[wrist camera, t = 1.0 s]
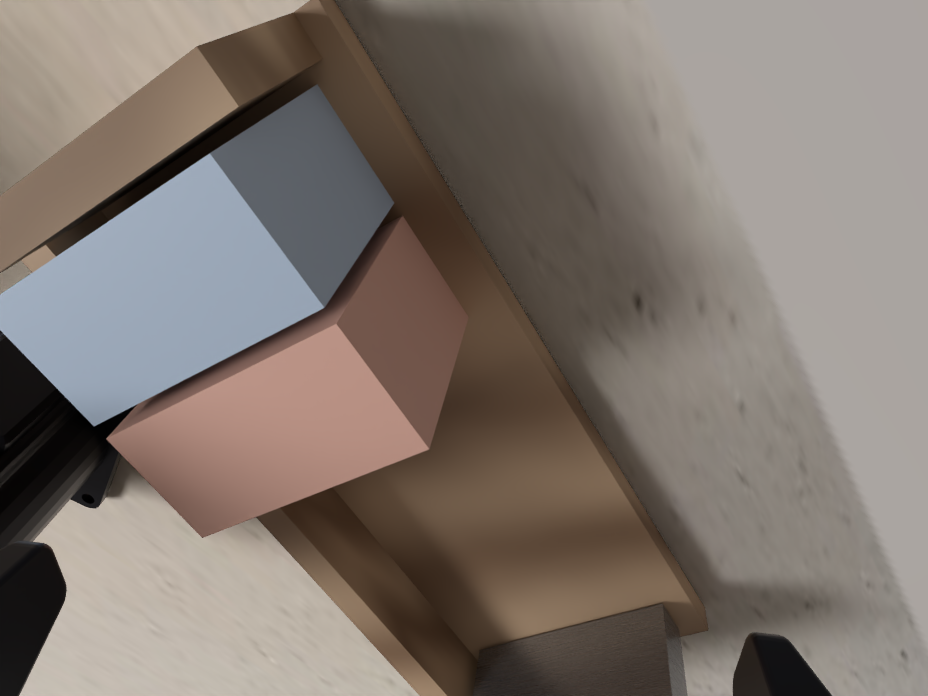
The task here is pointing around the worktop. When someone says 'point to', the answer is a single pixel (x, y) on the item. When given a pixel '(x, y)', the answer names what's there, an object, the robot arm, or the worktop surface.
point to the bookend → (590, 660)
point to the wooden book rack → (466, 401)
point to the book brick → (307, 395)
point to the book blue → (202, 263)
